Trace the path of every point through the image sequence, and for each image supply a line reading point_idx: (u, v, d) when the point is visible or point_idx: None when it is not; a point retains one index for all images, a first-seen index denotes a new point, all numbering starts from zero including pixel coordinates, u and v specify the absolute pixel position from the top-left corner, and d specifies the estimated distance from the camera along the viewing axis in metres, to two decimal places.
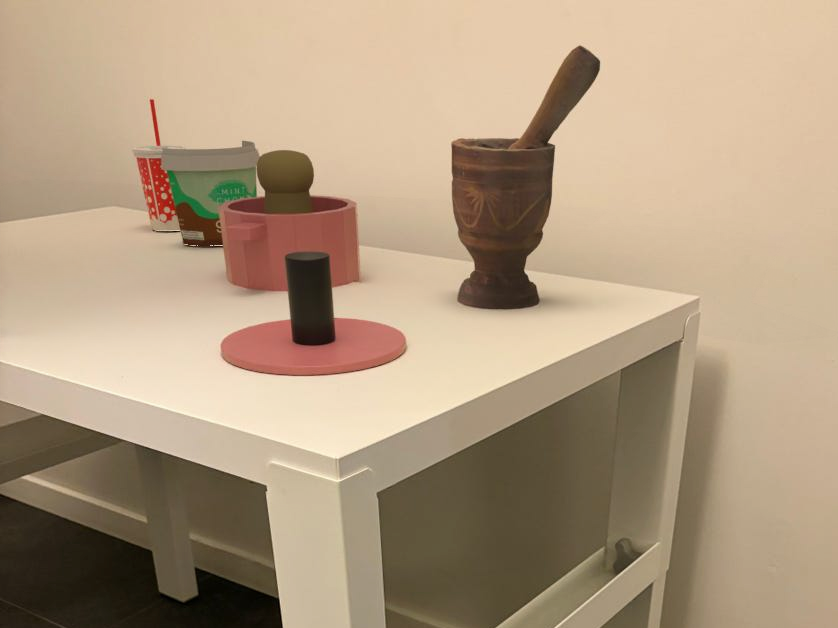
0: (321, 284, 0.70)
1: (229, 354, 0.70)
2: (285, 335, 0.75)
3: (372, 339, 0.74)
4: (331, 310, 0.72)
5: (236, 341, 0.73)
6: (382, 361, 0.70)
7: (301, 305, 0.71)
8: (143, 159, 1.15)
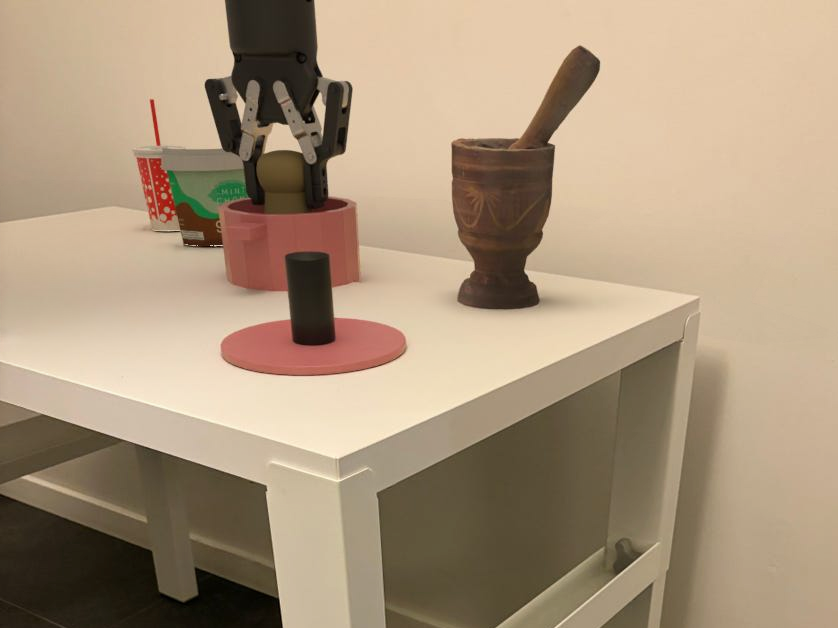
0: (321, 284, 0.70)
1: (229, 354, 0.70)
2: (285, 335, 0.75)
3: (372, 339, 0.74)
4: (331, 310, 0.72)
5: (236, 341, 0.73)
6: (382, 361, 0.70)
7: (301, 305, 0.71)
8: (143, 159, 1.15)
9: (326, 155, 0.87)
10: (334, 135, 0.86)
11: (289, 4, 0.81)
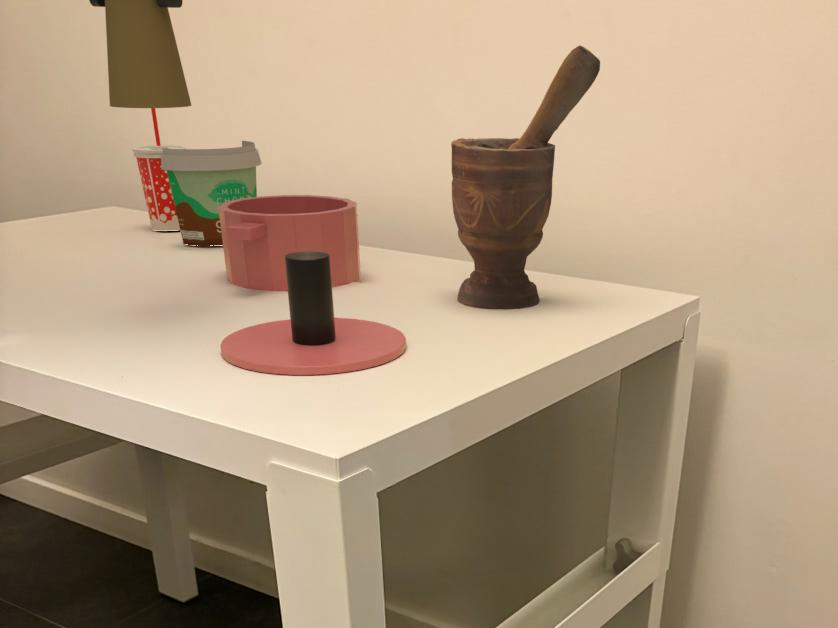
0: (321, 284, 0.70)
1: (229, 354, 0.70)
2: (285, 335, 0.75)
3: (372, 339, 0.74)
4: (331, 310, 0.72)
5: (236, 341, 0.73)
6: (382, 361, 0.70)
7: (301, 305, 0.71)
8: (143, 159, 1.15)
9: None
10: None
11: None
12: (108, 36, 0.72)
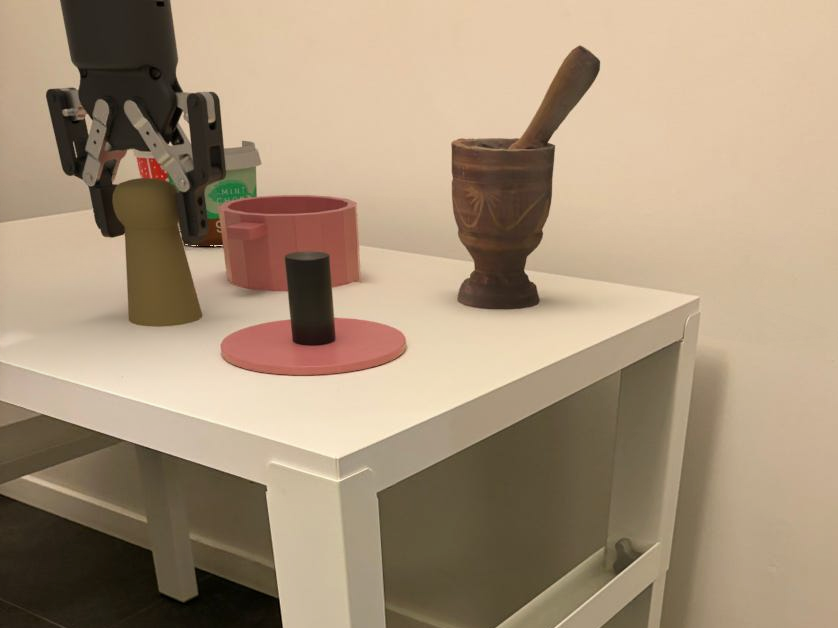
0: (321, 284, 0.70)
1: (229, 354, 0.70)
2: (285, 335, 0.75)
3: (372, 339, 0.74)
4: (331, 310, 0.72)
5: (236, 341, 0.73)
6: (382, 361, 0.70)
7: (301, 305, 0.71)
8: (143, 159, 1.15)
9: (200, 182, 0.73)
10: (205, 156, 0.72)
11: (134, 9, 0.68)
12: (128, 270, 0.78)
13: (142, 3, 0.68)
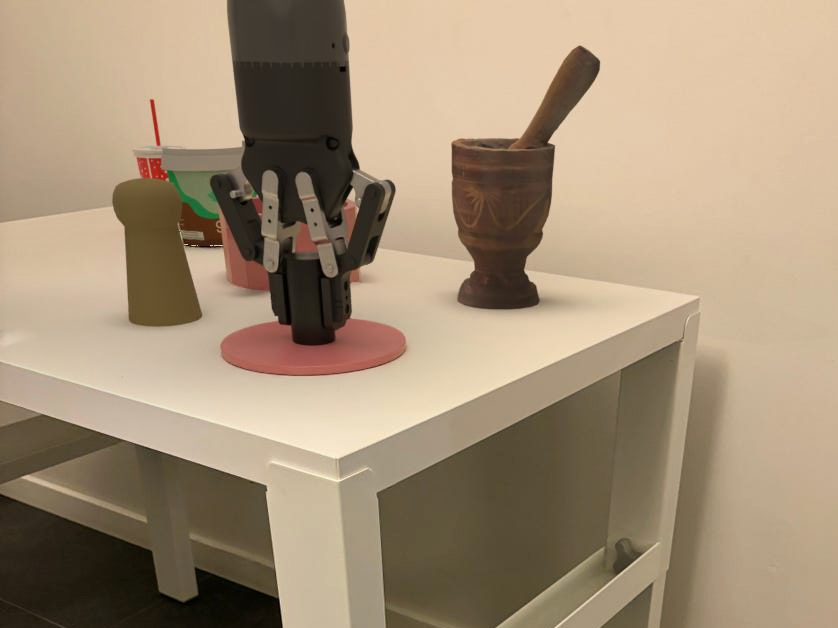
0: None
1: (229, 354, 0.70)
2: (285, 335, 0.75)
3: (372, 339, 0.74)
4: None
5: (236, 341, 0.73)
6: (382, 361, 0.70)
7: (301, 305, 0.71)
8: (143, 159, 1.15)
9: (350, 267, 0.68)
10: (363, 246, 0.67)
11: (318, 77, 0.62)
12: (128, 270, 0.78)
13: (326, 70, 0.62)
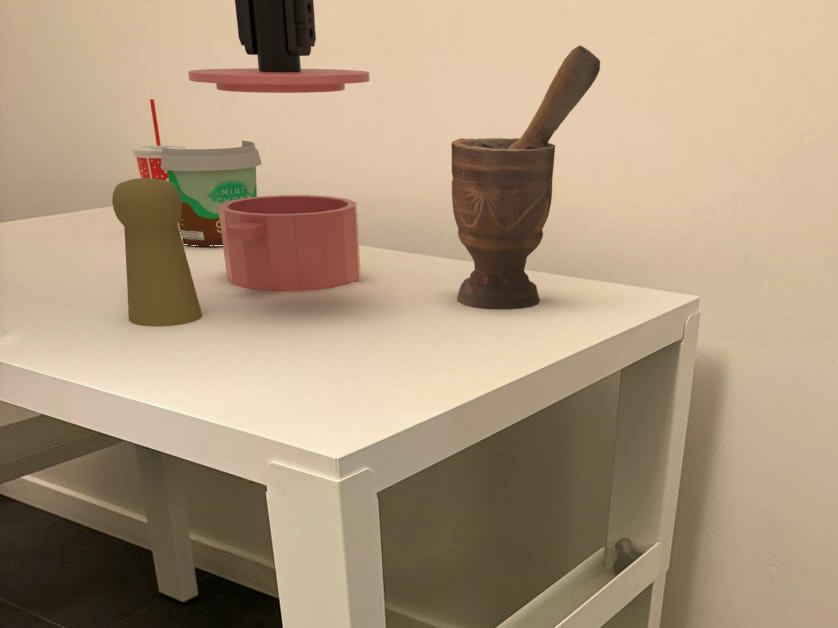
0: None
1: (195, 72, 0.72)
2: (252, 70, 0.77)
3: None
4: None
5: None
6: (343, 80, 0.72)
7: (266, 27, 0.73)
8: (143, 159, 1.15)
9: None
10: None
11: None
12: (128, 271, 0.78)
13: None
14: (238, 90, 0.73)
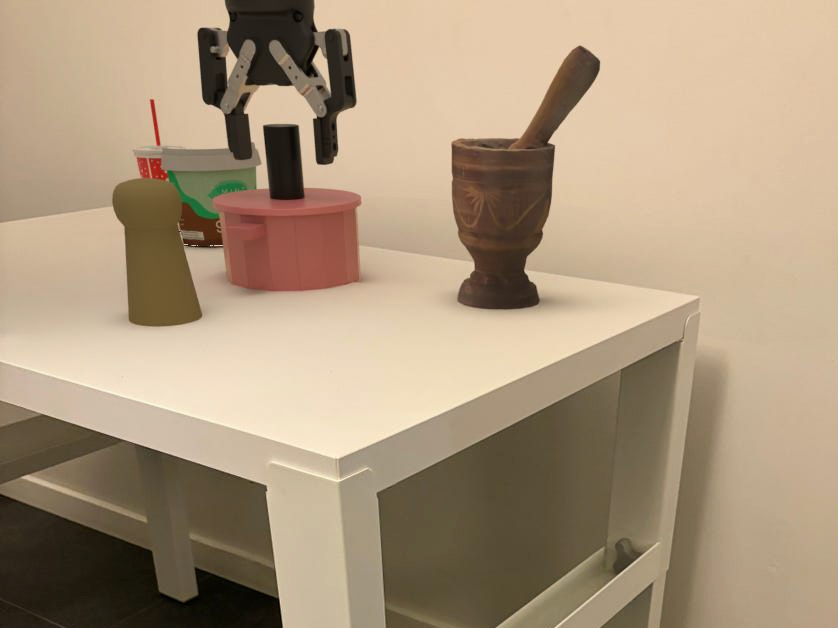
0: (292, 148, 0.88)
1: (218, 203, 0.88)
2: (264, 195, 0.93)
3: (334, 197, 0.92)
4: (300, 171, 0.90)
5: (225, 198, 0.91)
6: (340, 209, 0.88)
7: (276, 165, 0.89)
8: (143, 159, 1.15)
9: (336, 108, 0.85)
10: (341, 84, 0.84)
11: None
12: (128, 270, 0.78)
13: None
14: None
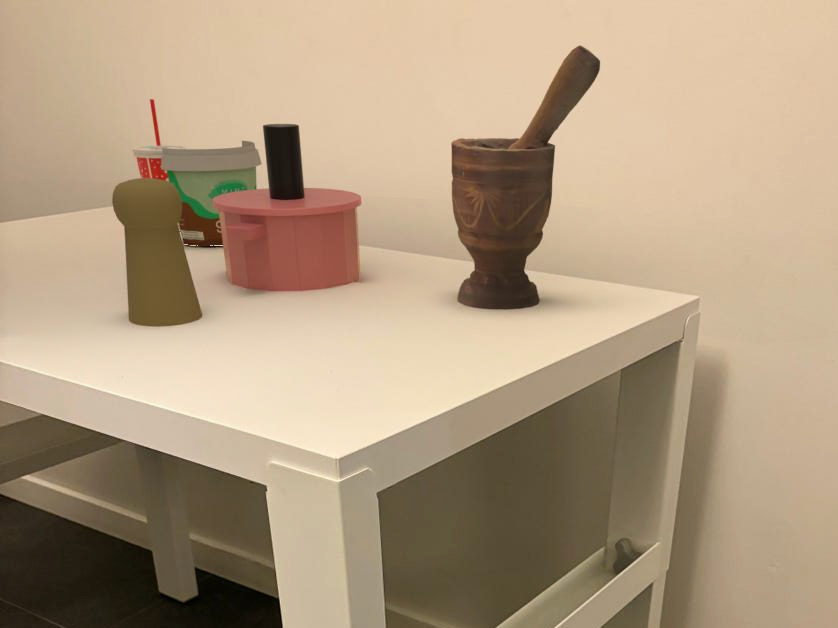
0: (292, 148, 0.88)
1: (218, 203, 0.88)
2: (264, 195, 0.93)
3: (334, 197, 0.92)
4: (300, 171, 0.90)
5: (225, 198, 0.91)
6: (340, 209, 0.88)
7: (276, 165, 0.89)
8: (143, 159, 1.15)
9: None
10: None
11: None
12: (128, 270, 0.78)
13: None
14: None
